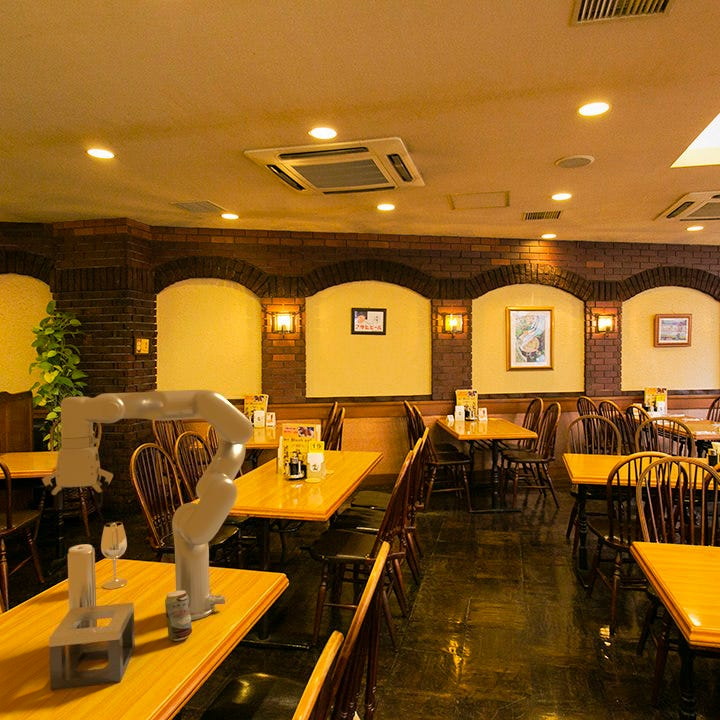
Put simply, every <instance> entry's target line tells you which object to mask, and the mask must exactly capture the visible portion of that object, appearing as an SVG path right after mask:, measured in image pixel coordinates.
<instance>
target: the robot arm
mask: <svg viewBox="0 0 720 720" xmlns="http://www.w3.org/2000/svg"><path fill="white" fill-rule="evenodd" d="M122 419H145V420H150V421H160V422H161V421H174V420H175V421H177V420H178V421H179V420H193V419H194V420H195V419H203V420H204V421H205V422H207V423H208V424H209V425H210V426H211V427H213V429H214V431H215V432H214V433H215V435H216V437H217V441H218V447H217V450H216V453H215V455H214V456H213V458H212V460H211V462H210V463H209V465H208V466H207V468H206V469H205V471H204V472H203V474H202V476H201V477H200V478H199V479H198V482H197V483H196V486H195V493H196V496H197V498H198V499H199V500H198V502H197V503H195V502H187V503H183V504H181V505H180V506H178V508H177V509H176V510H175V511H174V514H173V516H172V521H171V522H172V523H171V524H172V525H171V526H172V535H173V541H174V542H173V543H174V544H173V545H174V565H175V566H174V567H175V569H174V571H175V591H179V590H185V591H186V593H187V594H188V596H189V606H190V615H191V621H196V620H200V619H203V618H206V617H208V616H209V615H211V614H212V613H214V611H215V610H216V605H224V604H226V596H223V595H222V594H215V595H214V594H212V589H211V588H210V560H209V559H210V551H209V550H210V549H209V542H210V541H211V540H212V539H214V537H215V536H216V534H217V533H218V531H219V530H220V528H221V526H222V525H223V524H224V522H225V521H226V519H227V517H228V515H229V514H230V512H232V511H231V510H232V508H233V507H234V505H235V503H236V501H237V498H238V488H237V484H236V483H235V482H234V479H235V478H236V476H237V474H238V473H239V471H240V469H241V467H242V465H243V463H244V461H245V457H246V451H247V450H246V448H247V447H246V443H248V442H249V441H250V440H251V438H252V436H253V434H254V428H253V424H252V422H251V421H250V420H249V418H248V417H246V415H244V413H242V412H241V411H240V409H239V410H238V408H236V407H235V406H234V405H233V404H232V403H231V402H229V400H227V399H226V398H225V397H224V396H223V395H222V394H220V393H219V392H217V391H214V390H208V389H185V390H184V389H183V390H156V391H155V390H154V391H145V392H143V391H142V392H140V391H139V392H116V393H115V392H114V393H113V392H109V393H101V394H99V395H98V394H97V396H95V397H89V396H68V397H64V398H63V399H62V400H61V402H60V423H61V424H60V430H61V433H60V434H61V440H60V441H61V448H60V449H58V453H57V459H56V466H55V467H56V468H55V471H54V472H52V473H50V474H48V475H46V476H44V477H42V479H41V480H42V482H43V484H44V486H45V488H46V490H47V491H49V492H50V493H51V495H53V507H55V511H59V510H61V508H63V506H64V505H63V503H64V501H63V492H62V489H64V488H78V487H92V488H93V489H94V490H95V493H94V507H95V508H97V509H98V508H99V507H100V506H101V505H102V504H103V502H104V490H105V489H106V488H107V487H108V485H110V483H111V481H112V479H113V477H114V474H113V473H112V472H110V471H107V470H104V469H102V468H101V465H100V464H101V462H100V457H99V450H98V447H97V446H95V445H96V444H99V442H100V438H98V437H97V438H96V437H95V435H94V423H98V424H99V423H100V424H113V423H116V422H118V421H120V420H122ZM101 477H104V478H105V480H104V482H103V483H101V482H100V481H101V479H102V478H101ZM54 478H55V484H56V485H55V484H54V483H52V481H51V480H52V479H54ZM210 589H211V590H210Z"/></svg>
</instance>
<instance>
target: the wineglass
mask: <svg viewBox="0 0 720 720" xmlns="http://www.w3.org/2000/svg"><path fill="white" fill-rule="evenodd" d="M100 543H101V544H100V549H101V553H102V554H103V556H104V557H105V558H108V559H109V560H111V561H112V563H113V565H112V566H113V577H112V578H113V579H111V580H108V581H106V582H104V583H103V584H102V588H103V589H106V590H113V589H114V590H115V589H119V588H122V587H124V586H126V585H128V580H127V579H124V578H117V559H119V558H120V557H122V555H124V554H125V552H126V550H127V547H128V542H127V536H126V531H125V528H124V525H123V522H121V521H115V522H114V521H113V522H108V523H106V524H105V525H103V532H102V536H101V542H100Z"/></svg>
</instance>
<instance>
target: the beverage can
mask: <svg viewBox="0 0 720 720" xmlns="http://www.w3.org/2000/svg"><path fill="white" fill-rule="evenodd" d="M164 604H165V615H166V625H167V637H168V639H170V640H172V641H174V642H176V641H177V642H178V641H183V640H185V639H187V638H188V637H189V636H190V635H191V634H192V632H193V627H192V620H191V615H190V606H189V596H188V594H187V593H186V591H185V590H179V591H176V590H175V591H172V592H169V593H167V594H166V598H165V600H164Z"/></svg>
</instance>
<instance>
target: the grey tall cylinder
mask: <svg viewBox="0 0 720 720" xmlns="http://www.w3.org/2000/svg"><path fill="white" fill-rule="evenodd" d="M95 555H96V552H95V548H94V547H93V545H91V544H85V543H84V544H78V545H77V544H76V545H74V546H71V547H69V548H68V553H67V575H68V576H67V577H68V578H67V579H68V580H67V581H68V582H67V583H68V606H69V607H68V609H69V610H68V612H69V611H70V609H71V608H81V607H91V606H97V586H96V580H97V579H96V556H95ZM89 627H98V619H95V620H85V621H82V628H89ZM92 643H93V642H90V643H83V646H89V645H90V644H92Z"/></svg>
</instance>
